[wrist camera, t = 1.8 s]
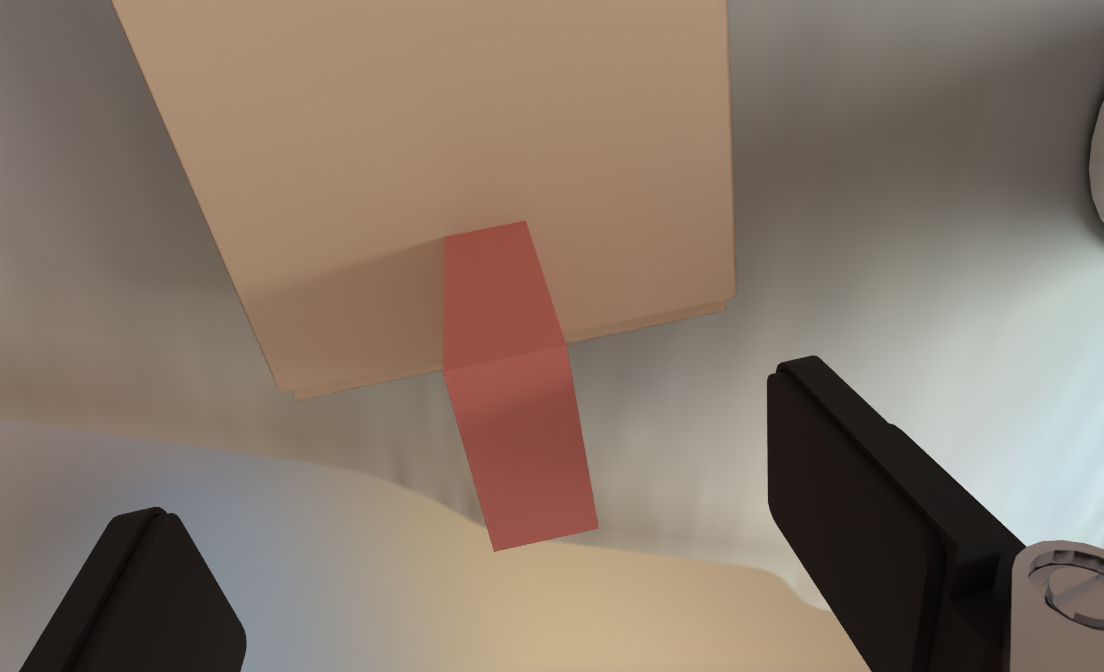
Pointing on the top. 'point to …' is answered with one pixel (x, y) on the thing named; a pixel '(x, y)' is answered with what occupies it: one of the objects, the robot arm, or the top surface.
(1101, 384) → the top surface
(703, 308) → the carton
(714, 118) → the taped cardboard box
